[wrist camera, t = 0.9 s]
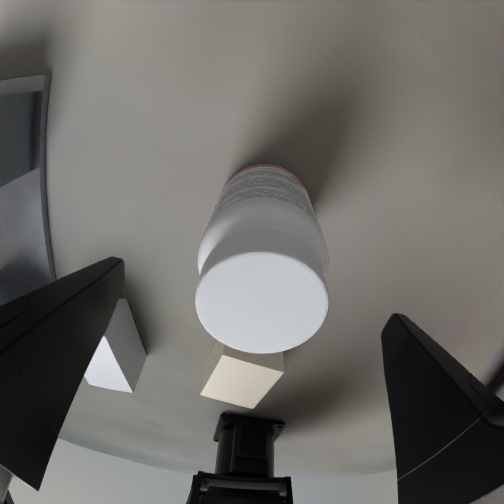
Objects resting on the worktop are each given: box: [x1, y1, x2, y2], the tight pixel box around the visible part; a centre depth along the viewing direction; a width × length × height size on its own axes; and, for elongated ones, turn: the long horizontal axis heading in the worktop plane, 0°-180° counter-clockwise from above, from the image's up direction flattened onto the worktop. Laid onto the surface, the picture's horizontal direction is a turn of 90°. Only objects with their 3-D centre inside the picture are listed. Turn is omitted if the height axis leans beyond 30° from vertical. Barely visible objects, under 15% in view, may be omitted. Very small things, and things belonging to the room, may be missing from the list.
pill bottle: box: [195, 164, 329, 354], centre depth 12 cm, size 5×5×8 cm
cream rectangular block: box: [200, 340, 284, 409], centre depth 20 cm, size 5×4×4 cm
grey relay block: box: [84, 298, 147, 393], centre depth 20 cm, size 6×4×4 cm, turn 2°
